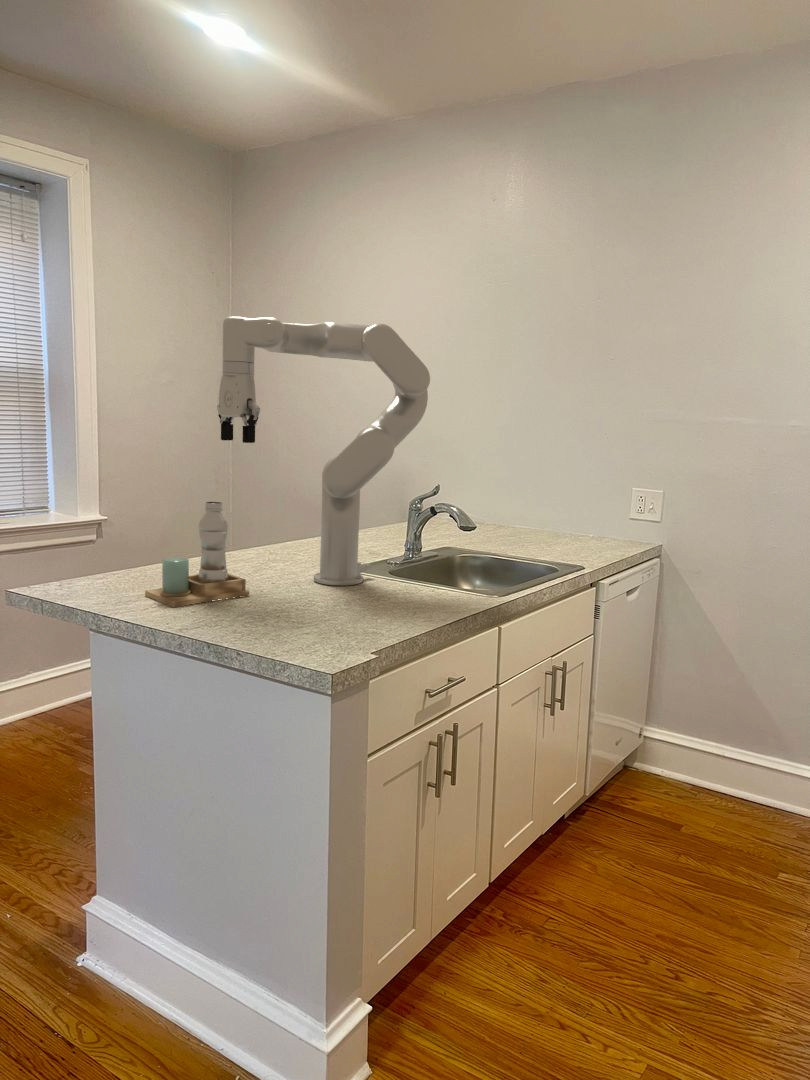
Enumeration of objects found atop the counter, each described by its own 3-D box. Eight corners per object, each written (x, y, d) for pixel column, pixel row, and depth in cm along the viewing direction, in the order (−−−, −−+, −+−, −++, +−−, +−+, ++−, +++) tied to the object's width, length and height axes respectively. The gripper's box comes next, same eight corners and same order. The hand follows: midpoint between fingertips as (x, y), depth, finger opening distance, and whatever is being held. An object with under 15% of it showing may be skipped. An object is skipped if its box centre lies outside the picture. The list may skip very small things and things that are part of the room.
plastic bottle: (221, 593, 180) (222, 505, 177) (193, 590, 181) (193, 503, 178) (232, 587, 186) (233, 502, 183) (205, 584, 188) (206, 499, 184)
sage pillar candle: (180, 587, 181) (180, 556, 180) (193, 591, 178) (193, 561, 176) (157, 590, 178) (157, 559, 176) (170, 595, 174) (170, 563, 173)
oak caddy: (219, 585, 193) (219, 570, 192) (249, 596, 184) (249, 580, 183) (145, 595, 180) (145, 579, 179) (173, 607, 171) (173, 590, 170)
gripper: (206, 369, 196) (205, 439, 199) (244, 369, 184) (243, 443, 187) (232, 371, 201) (231, 439, 204) (272, 371, 189) (270, 443, 192)
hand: (237, 441), depth 196 cm, fingers open, 9 cm apart
